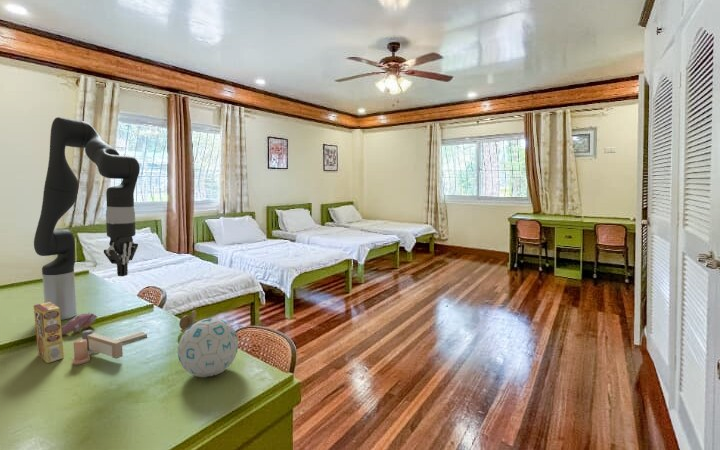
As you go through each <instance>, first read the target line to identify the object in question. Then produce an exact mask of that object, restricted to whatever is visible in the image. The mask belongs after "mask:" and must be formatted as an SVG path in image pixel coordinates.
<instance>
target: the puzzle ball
mask: <svg viewBox="0 0 720 450" xmlns="http://www.w3.org/2000/svg"><path fill="white" fill-rule="evenodd" d="M238 348H239V337H238V336H237V333H236V331H235V329H234V328H233V327H232V326H231V325H230V324H229V323H227V322H226V321H224V320H223V319H218V318H214V317H212V318H203V319H200V320H198V321H195V322H194V325H193V324H192V325H191V326H190V327H189V328H187V330H186V331H185V332H184V334H183V335H182V337H181V339H180V342H179V344H178V346H177V355H178V360H179V362H180V365H181V367H182V368H183V369H184V370H185V371H186V372H188V373H189V374H191V375H193V376H195V377H198V378H208V377H207V376H210V377H214V376H213V375H215V376H218V375H219V374H221V373H224V372H225V370H226V369H228V368H229V367H230V366H231V365H232V364H233V362H234V360H235V358H236V357H237V356H236V355H237V353H238Z"/></svg>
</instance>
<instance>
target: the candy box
mask: <svg viewBox="0 0 720 450" xmlns="http://www.w3.org/2000/svg"><path fill="white" fill-rule="evenodd" d="M33 314H34V323H35V325H34V326H35V333H36V344H37V353H38V354H37V355H38V356H39V357H40V358H41V359H42V360H44V362H45V363H47V364H49V363H53V362H56V361H59V360H62V359H64V358H65V357H64V345H63V344H64V343H63V335H62V329H61V328H62V320H61V317H60V308H59V307H57V306H56V305H54V304H53V303H51V302H48V303H38V304H34V305H33Z"/></svg>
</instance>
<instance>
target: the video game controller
mask: <svg viewBox="0 0 720 450" xmlns="http://www.w3.org/2000/svg"><path fill="white" fill-rule="evenodd" d="M96 320H97V315H96V314H94V313H91V312H88V313H81V314H79V315H78V314H77V315H76V316H74V317H72V318H70V320H69V321H68V322H67V323H66V324H65V325H64V326H62V327H61V329H62V336H64V335H67V334H70V332H74V333H75V334H76V333H78V332H80V331H81V329H82V330H86V329H87V328H89V327H90V325H92V324H93V323H94V322H95V321H96Z"/></svg>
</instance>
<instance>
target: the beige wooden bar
mask: <svg viewBox="0 0 720 450" xmlns="http://www.w3.org/2000/svg"><path fill="white" fill-rule="evenodd" d="M81 339H86V340H87V350H93V351H96V352H97V353H99V354H102V355H105V356H109V357H112V358H113V359H115V360H116V359H117V360H118V359H120V358H121V357H124V356H123V355H124V353H123V344H122V341H119V340H116V338H112V337H109V336H105V335H101V334H98V333H95V332H94V331H93V330H92V329H87V330H86V329H85V330H83V331H82V332H81Z"/></svg>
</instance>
